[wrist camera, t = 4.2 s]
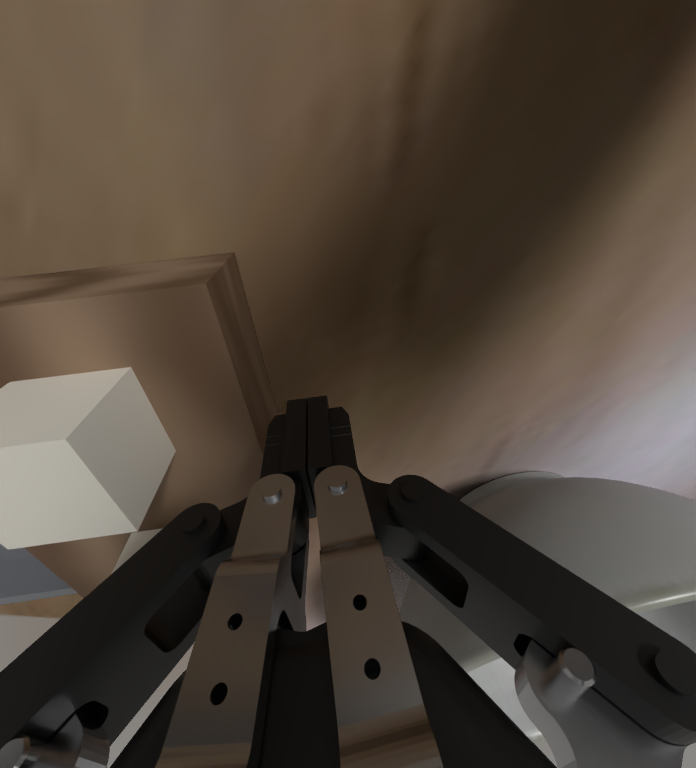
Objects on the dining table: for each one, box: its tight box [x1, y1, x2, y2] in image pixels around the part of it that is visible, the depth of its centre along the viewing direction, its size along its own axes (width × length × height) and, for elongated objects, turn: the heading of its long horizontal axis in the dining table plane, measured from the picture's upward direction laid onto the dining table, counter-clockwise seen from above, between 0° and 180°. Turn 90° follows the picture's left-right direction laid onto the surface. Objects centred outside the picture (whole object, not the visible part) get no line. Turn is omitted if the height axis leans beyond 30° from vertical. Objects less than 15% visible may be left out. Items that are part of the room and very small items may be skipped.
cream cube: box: [0, 367, 176, 550], centre depth 12 cm, size 4×4×4 cm
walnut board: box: [0, 253, 278, 598], centre depth 18 cm, size 14×20×5 cm
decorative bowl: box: [400, 472, 696, 742], centre depth 25 cm, size 27×27×12 cm
